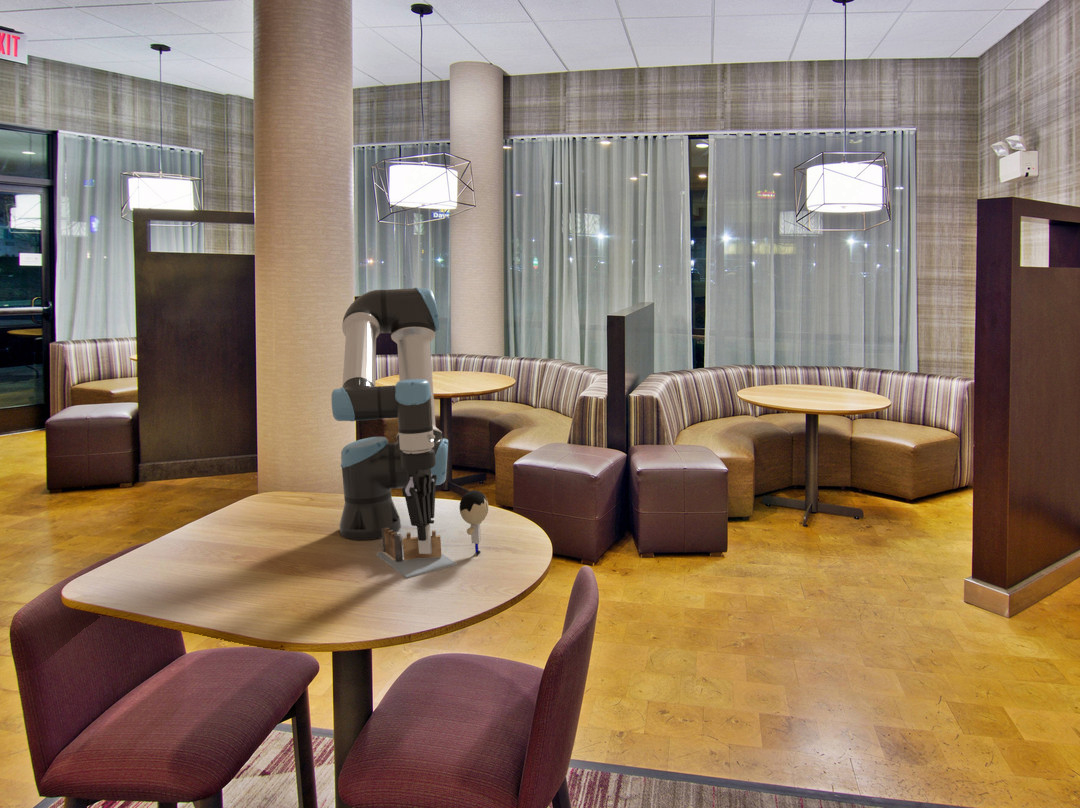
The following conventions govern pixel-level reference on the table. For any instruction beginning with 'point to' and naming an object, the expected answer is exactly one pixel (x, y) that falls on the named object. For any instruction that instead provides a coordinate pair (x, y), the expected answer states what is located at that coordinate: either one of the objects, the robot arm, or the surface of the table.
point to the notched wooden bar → (413, 550)
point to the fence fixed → (392, 544)
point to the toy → (474, 514)
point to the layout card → (416, 564)
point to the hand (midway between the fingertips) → (425, 552)
